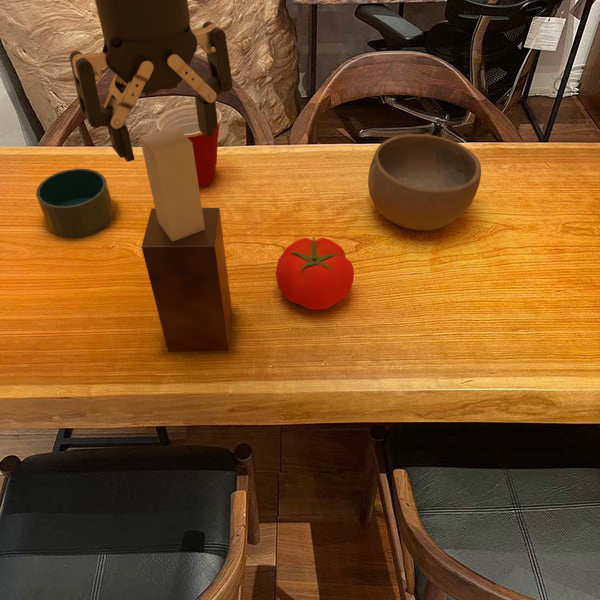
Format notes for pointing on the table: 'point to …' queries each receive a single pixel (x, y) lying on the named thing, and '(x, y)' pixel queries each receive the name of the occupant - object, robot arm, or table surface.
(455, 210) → the bowl
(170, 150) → the block
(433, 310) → the table surface
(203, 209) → the pedestal
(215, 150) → the plastic cup
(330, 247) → the tomato
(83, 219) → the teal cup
